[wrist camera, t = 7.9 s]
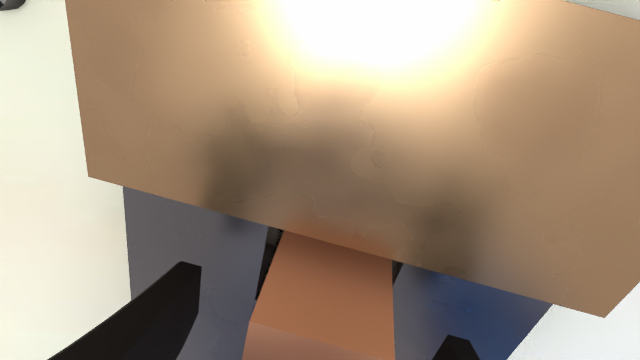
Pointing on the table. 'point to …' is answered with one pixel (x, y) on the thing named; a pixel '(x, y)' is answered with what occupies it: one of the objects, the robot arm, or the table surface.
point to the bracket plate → (372, 152)
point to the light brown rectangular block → (323, 304)
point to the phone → (10, 4)
